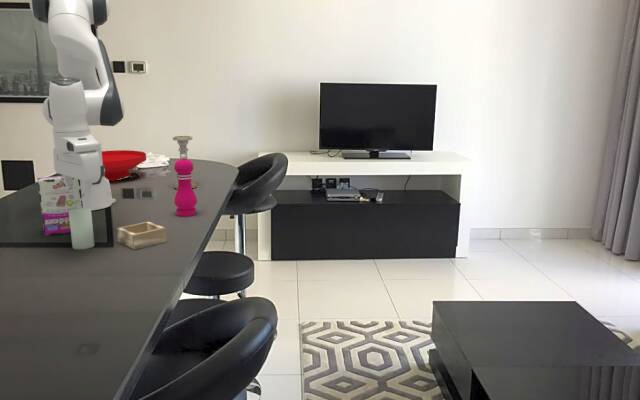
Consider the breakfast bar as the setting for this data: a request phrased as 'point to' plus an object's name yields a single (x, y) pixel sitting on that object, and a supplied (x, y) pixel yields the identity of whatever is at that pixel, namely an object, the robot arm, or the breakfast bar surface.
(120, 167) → the bowl
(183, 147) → the candle holder
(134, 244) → the square wooden tray
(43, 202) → the candy bar box
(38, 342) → the breakfast bar surface
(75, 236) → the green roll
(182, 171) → the pepper mill
